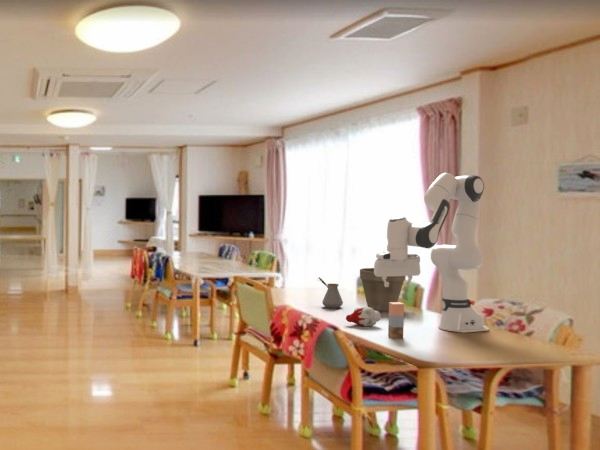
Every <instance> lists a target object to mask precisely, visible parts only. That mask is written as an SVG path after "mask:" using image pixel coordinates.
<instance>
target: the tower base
mask: <svg viewBox="0 0 600 450" xmlns="http://www.w3.org/2000/svg"><path fill="white" fill-rule="evenodd" d="M387 329H388V330H387V331H388V332H387V333H388V334H387V336H389V338H390V339H391V340H400V339H401V340H402V339H404V326H403V327H391V326H389V324H388V327H387Z"/></svg>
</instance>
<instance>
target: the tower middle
mask: <svg viewBox="0 0 600 450" xmlns="http://www.w3.org/2000/svg"><path fill="white" fill-rule="evenodd" d="M404 316H405V315H404ZM404 316H392V315H390V314H389V313H388V325H389V326H391V327H403V328H404V325H405V324H404V322H405V321H404V320H405V319H404Z"/></svg>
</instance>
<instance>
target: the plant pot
mask: <svg viewBox="0 0 600 450" xmlns="http://www.w3.org/2000/svg"><path fill="white" fill-rule="evenodd" d="M359 278H360V279H361V283H362V288H363V291H364V296H365V297H364V298H365V301H366V305H367V306H366V307H370V308H372V309H373V310H375V311H378V312H389V302H399V298H400V294H401V291H402V288H403V284H404V281H405V282H406V278H407V276H387V279H385V280H386V281H387V282H388V283H389V287H385V286H384V281H383V279H382V277H377V276H375V275H374V267H367V268H366V267H365V268H360V269H359Z"/></svg>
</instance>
